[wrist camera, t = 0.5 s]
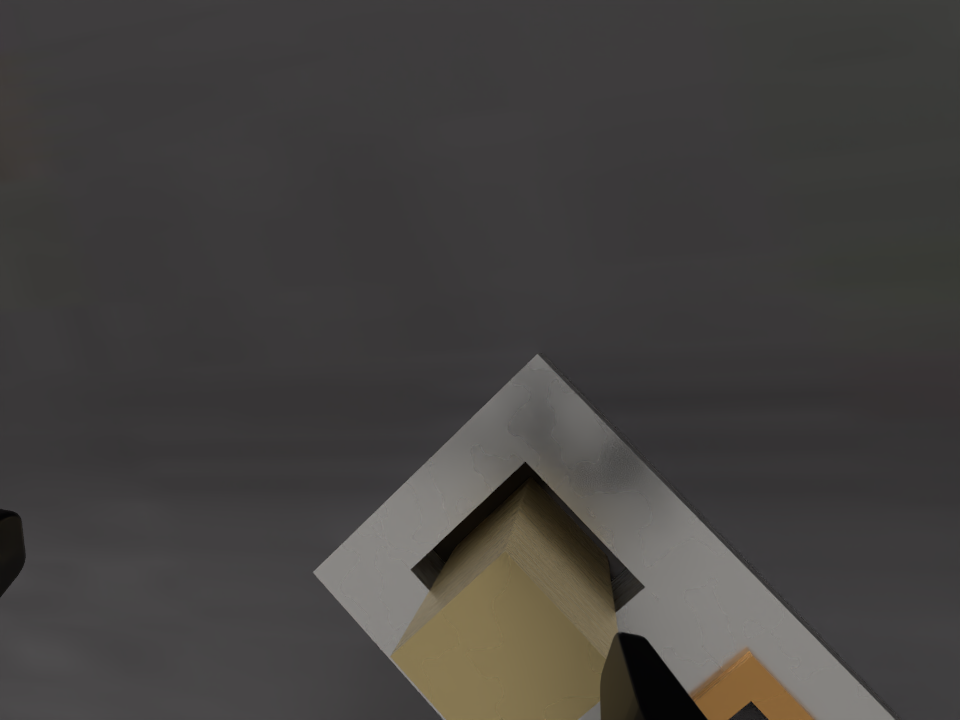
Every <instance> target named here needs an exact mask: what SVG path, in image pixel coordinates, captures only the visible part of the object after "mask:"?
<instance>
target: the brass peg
mask: <svg viewBox="0 0 960 720" xmlns="http://www.w3.org/2000/svg"><path fill="white" fill-rule="evenodd" d="M616 633H618V627H617V620H616V613H615V606H614V599H613V592H612V585H611V578H610V571H609V564H608V557H607V556H606V554H605V553H604V552H603V551H602V550H601V549H600V548H599V547H598V546H597V545H596V544H595V543H594V542H593V541H592V540H591V539H590V538H589V537H588V536H587V535H586V533H585V532H584V531H583V530H582V529H581V528H580V527H579V526H578V525H577V524H576V523H575V522H574V521H573V520H572V519H571V518H570V517H569V516H568V515H567V513H566V512H565V511H564V510H563V509H562V508H561V507H560V506H559V505H558V504H557V503H556V502H555V501H554V500H553V499H552V498H551V497H550V496H549V495H548V493H547V492H546V491H545V490H544V489H543V488H542V487H541V486H540V485H539V484H538V483H537V482H536V481H535V480H534V479H533V478H532V477H529V478H528V479H527V480H526V481H525V482H524V483H523V484H522V485H521V486H520V487H519V488H518V489H517V490H516V491H514V492H513V493H512V494H511V495H510V496H509V497H508V498H507V499H506V500H505V501H504V502H503V503H502V504H501V505H500V506H498V507H497V508H496V509H495V510H494V511H493V512H492V513H491V514H490V515H489V516H488V517H487V518H486V519H485V520H483V521H482V522H481V523H480V524H479V525H478V526H477V527H476V528H475V529H474V530H473V531H472V532H471V533H470V534H468V535H467V536H466V537H465V538H464V539H463V540H462V541H461V542H460V543H459V544H458V545H457V546H456V547H455V549H454V550H453V552H452V554H451V555H450V557H449V559H448V560H447V562H446V564H445V565H444V567H443V569H442V570H441V572H440V574H439V575H438V577H437V579H436V581H435V582H434V584H433V586H432V587H431V589H430V591H429V592H428V594H427V596H426V597H425V599H424V601H423V602H422V604H421V606H420V607H419V609H418V611H417V612H416V614H415V616H414V617H413V619H412V621H411V623H410V624H409V626H408V628H407V629H406V631H405V633H404V634H403V636H402V638H401V639H400V641H399V643H398V644H397V646H396V648H395V649H394V651H393V653H392V654H391V656H390V657H391V658H392V659H393V660H394V662H395V663H396V664H397V665H398V666H399V667H400V668H401V669H402V671H403V672H404V673H405V674H406V675H407V676H408V677H409V678H410V680H411V681H412V682H413V683H414V684H415V685H416V686H417V687H418V689H419V690H420V691H421V692H422V693H423V694H424V695H425V697H426V698H427V699H428V700H429V701H430V702H431V703H432V704H433V706H434V707H435V708H436V709H437V710H438V711H439V712H440V713H441V715H442V716H443V717H444V718H445V719H446V720H578V719H579V718H581V717H582V716H583V715H584V714H585V713H587V712H588V711H589V710H590V709H591V708H593V707H594V706H595V705H596V704H597V703H598V702H600V680H601V674H602V670H603V667H604V664H605V661H606V658H607V655H608V652H609V649H610V646H611V643H612V640H613V637H614V636H615V634H616Z"/></svg>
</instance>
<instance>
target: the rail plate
mask: <svg viewBox="0 0 960 720" xmlns="http://www.w3.org/2000/svg"><path fill="white" fill-rule="evenodd" d="M525 461H526V462H527V464H528V465H529V466H530V467H531V468H532V469H533V470H534V471H535V472H536V473H537V474H538V475H539V476H540V477H541V478H542V479H543V480H544V481H545V482H546V483H547V485H548V486H549V487H550V488H551V489H552V490H553V491H554V492H555V493H556V494H557V495H558V496H559V497H560V498H561V499H562V500H563V501H564V502H565V503H566V504H567V506H568V507H569V508H570V509H571V510H572V511H573V512H574V513H575V514H576V515H577V516H578V517H579V518H580V519H581V520H582V521H583V522H584V523H585V524H586V525H587V527H588V528H589V529H590V530H591V531H592V532H593V533H594V534H595V535H596V536H597V537H598V538H599V539H600V540H601V541H602V542H603V543H604V544H605V545H606V546H607V547H608V549H609V550H610V551H611V552H612V553H613V554H614V555H615V556H616V557H617V558H618V559H619V560H620V561H621V562H622V563H623V564H624V565H625V566H626V567H627V568H626V569H625V570H624V571H623V572H622V573H621V574H620V575H618V576H617V577H616V578H615V579H614V580H613V581H612V582H611V585H612V592H613V599H614V606H615V613H616V620H617V627H618V632H626V633H631V634H636V635H641V636H643V637H645V638H646V639H647V640H648V641H649V643H650V644H651V645H652V646H653V648H654V649H655V650H656V652H657V653H658V654H659V656H660V657H661V658H662V660H663V661H664V662H665V664H666V665H667V666H668V668H669V669H670V670H671V672H672V673H673V674H674V676H675V677H676V678H677V680H678V681H679V682H680V683H681V685H682V686H683V687H684V689H685V690H686V691H687V693H688V694H689V695H690V697H691V698H692V699H693V701H694V702H695V703H696V705H697V706H698V707H699V709H700V710H701V711H702V713H703V714H704V715H705V717H706V718H707V719H708V720H728V719H730V718H731V717H732V716H733V715H735V714H736V713H737V712H738V711H739V710H741V709H742V708H743V707H744V706H746V705H747V704H748V703H749V702H751V701H752V702H753V704H754V705H755V706H756V707H757V708H758V709H759V710H760V711H761V712H762V713H763V714H764V715H765V716H766V717H767V718H768V719H769V720H901V719H900V718H899V717H898V716H897V715H896V714H895V713H894V712H893V711H892V710H891V709H890V708H889V707H888V706H887V704H886V703H885V702H884V701H883V700H882V699H881V698H880V697H879V696H878V695H877V694H876V693H875V692H874V691H873V690H872V689H871V688H870V687H869V686H868V685H867V684H866V683H865V682H864V681H863V680H862V679H861V678H860V677H859V676H858V675H857V674H856V673H855V672H854V671H853V670H852V669H851V668H850V667H849V666H848V665H847V664H846V663H845V662H844V661H843V660H842V659H841V658H840V657H839V655H838V654H837V653H836V652H835V651H834V650H833V649H832V648H831V647H830V646H829V645H828V644H827V643H826V642H825V641H824V640H823V639H822V638H821V637H820V636H819V635H818V634H817V633H816V632H815V631H814V630H813V629H812V628H811V627H810V626H809V625H808V624H807V623H806V622H805V621H804V620H803V619H802V618H801V617H800V616H799V615H798V614H797V613H796V612H795V611H794V610H793V609H792V608H791V606H790V605H789V604H788V603H787V602H786V601H785V600H784V599H783V598H782V597H781V596H780V595H779V594H778V593H777V592H776V591H775V590H774V589H773V588H772V587H771V586H770V585H769V584H768V583H767V582H766V581H765V580H764V579H763V578H762V577H761V576H760V575H759V574H758V573H757V572H756V571H755V570H754V569H753V568H752V567H751V566H750V565H749V564H748V563H747V562H746V561H745V560H744V558H743V557H742V556H741V555H740V554H739V553H738V552H737V551H736V550H735V549H734V548H733V547H732V546H731V545H730V544H729V543H728V542H727V541H726V540H725V539H724V538H723V537H722V536H721V535H720V534H719V533H718V532H717V531H716V530H715V529H714V528H713V527H712V526H711V525H710V524H709V523H708V522H707V521H706V520H705V519H704V518H703V517H702V516H701V515H700V514H699V513H698V512H697V511H696V509H695V508H694V507H693V506H692V505H691V504H690V503H689V502H688V501H687V500H686V499H685V498H684V497H683V496H682V495H681V494H680V493H679V492H678V491H677V490H676V489H675V488H674V487H673V486H672V485H671V484H670V483H669V482H668V481H667V480H666V479H665V478H664V477H663V476H662V475H661V474H660V473H659V472H658V471H657V470H656V469H655V468H654V467H653V466H652V465H651V464H650V463H649V461H648V460H647V459H646V458H645V457H644V456H643V455H642V454H641V453H640V452H639V451H638V450H637V449H636V448H635V447H634V446H633V445H632V444H631V443H630V442H629V441H628V440H627V439H626V438H625V437H624V436H623V435H622V434H621V433H620V432H619V431H618V430H617V429H616V428H615V427H614V426H613V425H612V424H611V423H610V422H609V421H608V420H607V419H606V418H605V417H604V416H603V415H602V414H601V412H600V411H599V410H598V409H597V408H596V407H595V406H594V405H593V404H592V403H591V402H590V401H589V400H588V399H587V398H586V397H585V396H584V395H583V394H582V393H581V392H580V391H579V390H578V389H577V388H576V387H575V386H574V385H573V384H572V383H571V382H570V381H569V380H568V379H567V378H566V377H565V376H564V375H563V374H562V373H561V372H560V371H559V370H558V369H557V368H556V367H555V366H554V364H553V363H552V362H551V361H550V360H549V359H548V358H547V357H546V356H545V355H544V354H543V353H539V354H537V355H536V356H535V357H534V358H533V359H532V360H531V361H530V362H529V363H528V364H527V365H526V366H525V367H524V368H523V369H522V370H520V371H519V372H518V373H517V374H516V375H515V376H514V377H513V378H512V379H511V380H510V381H509V382H508V383H507V384H506V385H505V386H504V387H503V388H502V389H501V390H500V391H499V392H498V393H497V394H496V395H495V396H494V397H493V398H492V399H491V400H490V401H489V402H488V403H487V404H486V405H485V406H483V407H482V408H481V409H480V410H479V411H478V412H477V413H476V414H475V415H474V416H473V417H472V418H471V419H470V420H469V421H468V422H467V423H466V424H465V425H464V426H463V427H462V428H461V429H460V430H459V431H458V432H457V433H456V434H455V435H454V436H453V437H452V438H451V439H450V440H449V441H448V442H446V443H445V444H444V445H443V446H442V447H441V448H440V449H439V450H438V451H437V452H436V453H435V454H434V455H433V456H432V457H431V458H430V459H429V460H428V461H427V462H426V463H425V464H424V465H423V466H422V467H421V468H420V469H419V470H418V471H417V472H416V473H415V474H414V475H413V476H412V477H411V478H409V479H408V480H407V481H406V482H405V483H404V484H403V485H402V486H401V487H400V488H399V489H398V490H397V491H396V492H395V493H394V494H393V495H392V496H391V497H390V498H389V499H388V500H387V501H386V502H385V503H384V504H383V505H382V506H381V507H380V508H379V509H378V510H377V511H376V512H375V513H373V514H372V515H371V516H370V517H369V518H368V519H367V520H366V521H365V522H364V523H363V524H362V525H361V526H360V527H359V528H358V529H357V530H356V531H355V532H354V533H353V534H352V535H351V536H350V537H349V538H348V539H347V540H346V541H345V542H344V543H343V544H342V545H341V546H340V547H339V548H338V549H336V550H335V551H334V552H333V553H332V554H331V555H330V556H329V557H328V558H327V559H326V560H325V561H324V562H323V563H322V564H321V565H320V566H319V567H318V568H317V569H316V570H315V571H314V572H313V573H314V574H315V575H316V576H317V578H318V579H319V580H320V581H321V582H322V583H323V584H324V585H325V587H326V588H327V589H328V590H329V591H330V592H331V593H332V594H333V596H334V597H335V598H336V599H337V600H338V601H339V602H340V603H341V605H342V606H343V607H344V608H345V609H346V610H347V611H348V613H349V614H350V615H351V616H352V617H353V618H354V619H355V620H356V622H357V623H358V624H359V625H360V626H361V627H362V628H363V629H364V631H365V632H366V633H367V634H368V635H369V636H370V637H371V638H372V640H373V641H374V642H375V643H376V644H377V645H378V646H379V648H380V649H381V650H382V651H383V652H384V653H385V654H386V655H387V657H388V658H389V659H390V660H391V661H392V662H393V663H394V664H395V666H396V667H397V668H398V669H399V670H400V671H401V672H402V673H403V675H404V676H405V677H406V678H407V679H408V680H409V681H410V683H411V684H412V685H413V686H414V687H415V688H416V689H417V690H418V692H419V693H420V694H421V695H422V696H423V697H424V698H425V699H426V701H427V702H428V703H429V704H430V705H431V706H432V707H433V708H434V710H435V711H436V712H437V713H438V714H439V715H440V716H441V718H442V719H443V720H446V719H445V718H444V717H443V716H442V715H441V713H440V712H439V711H438V710H437V709H436V708H435V707H434V706H433V704H432V703H431V702H430V701H429V700H428V699H427V698H426V697H425V695H424V694H423V693H422V692H421V691H420V690H419V689H418V687H417V686H416V685H415V684H414V683H413V682H412V681H411V680H410V678H409V677H408V676H407V675H406V674H405V673H404V672H403V671H402V669H401V668H400V667H399V666H398V665H397V664H396V663H395V662H394V660H393V659H392V658H391V657H390V656H391V654H392V653H393V651H394V649H395V648H396V646H397V644H398V643H399V641H400V639H401V638H402V636H403V634H404V633H405V631H406V629H407V628H408V626H409V624H410V623H411V621H412V619H413V617H414V616H415V614H416V612H417V611H418V609H419V607H420V606H421V604H422V602H423V601H424V599H425V597H426V596H427V594H428V592H429V591H430V589H431V587H432V586H433V584H434V582H435V581H436V579H437V577H438V575H439V574H440V572H441V570H442V569H443V567H444V565H445V564H446V563H445V562H444V561H443V560H442V559H441V558H440V557H439V556H438V555H437V554H436V553H435V551H434V550H433V548H434V547H435V546H436V545H437V544H438V543H439V542H440V541H441V540H442V539H443V538H444V537H446V536H447V535H448V534H449V533H450V532H451V531H452V530H453V529H454V528H455V527H456V526H457V525H458V524H459V523H460V522H461V521H463V520H464V519H465V518H466V517H467V516H468V515H469V514H470V513H471V512H472V511H473V510H474V509H475V508H476V507H477V506H478V505H480V504H481V503H482V502H483V501H484V500H485V499H486V498H487V497H488V496H489V495H490V494H491V493H492V492H493V491H494V490H495V489H496V488H498V487H499V486H500V485H501V484H502V483H503V482H504V481H505V480H506V479H507V478H508V477H509V476H510V475H511V474H512V473H513V472H515V471H516V470H517V469H518V468H519V467H520V466H521V465H522V464H523V463H524V462H525ZM578 720H601V713H600V702H598V703H597V704H596V705H595V706H594V707H593V708H591V709H590V710H589V711H588V712H587V713H585V714H584V715H583V716H582V717H581V718H579V719H578Z"/></svg>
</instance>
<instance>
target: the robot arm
mask: <svg viewBox="0 0 960 720" xmlns="http://www.w3.org/2000/svg"><path fill="white" fill-rule="evenodd" d="M25 558H26V554H25V545H24V537H23V528H22V521H21V518H20V516H19V515H18V514H17V513H15V512H13V511H8V510H3V509H0V597H1V596H2V595H3V593H4V592H5V591H6V590H7V588H8V587H9V586H10V585H11V583H12V582H13V581H14V580H15V578H16V577H17V576H18V574H19V573H20V571H21V570H22V568H23V565H24V563H25ZM600 713H601V720H708V719H707V718H706V717H705V715H704V714H703V713H702V711H701V710H700V709H699V707H698V706H697V705H696V703H695V702H694V701H693V699H692V698H691V697H690V695H689V694H688V693H687V691H686V690H685V689H684V687H683V686H682V685H681V683H680V682H679V681H678V680H677V678H676V677H675V676H674V674H673V673H672V672H671V670H670V669H669V668H668V666H667V665H666V664H665V662H664V661H663V660H662V658H661V657H660V656H659V654H658V653H657V652H656V650H655V649H654V648H653V646H652V645H651V644H650V643H649V641H648V640H647V639H646V638H645V637H643V636H641V635H636V634H631V633H626V632H618V633H616V634H615V636H614V637H613V640H612V643H611V646H610V649H609V652H608V655H607V658H606V661H605V664H604V667H603V670H602V674H601V680H600Z"/></svg>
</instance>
